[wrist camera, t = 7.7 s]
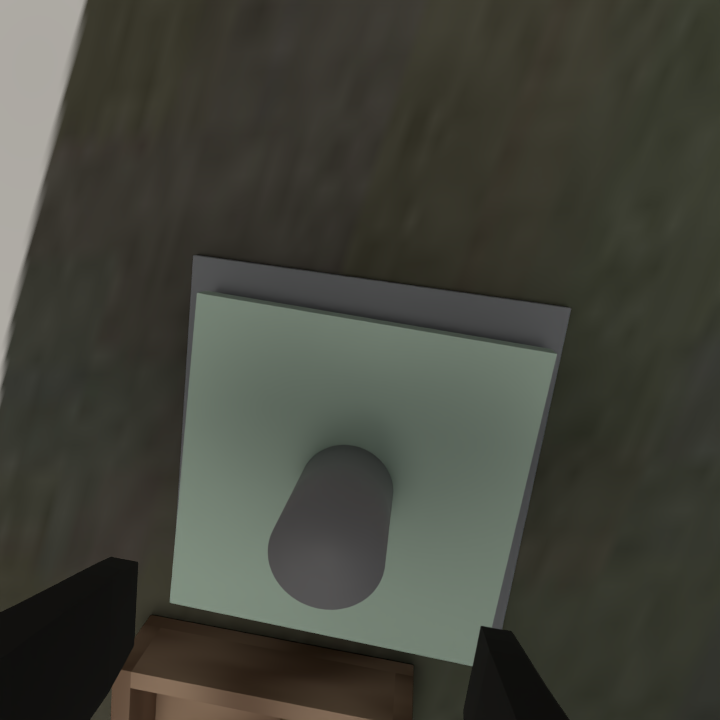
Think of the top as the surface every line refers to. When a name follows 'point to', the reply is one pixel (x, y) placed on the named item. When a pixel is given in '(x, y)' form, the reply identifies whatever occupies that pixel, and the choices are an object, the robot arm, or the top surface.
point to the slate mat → (398, 306)
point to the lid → (353, 473)
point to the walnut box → (252, 678)
